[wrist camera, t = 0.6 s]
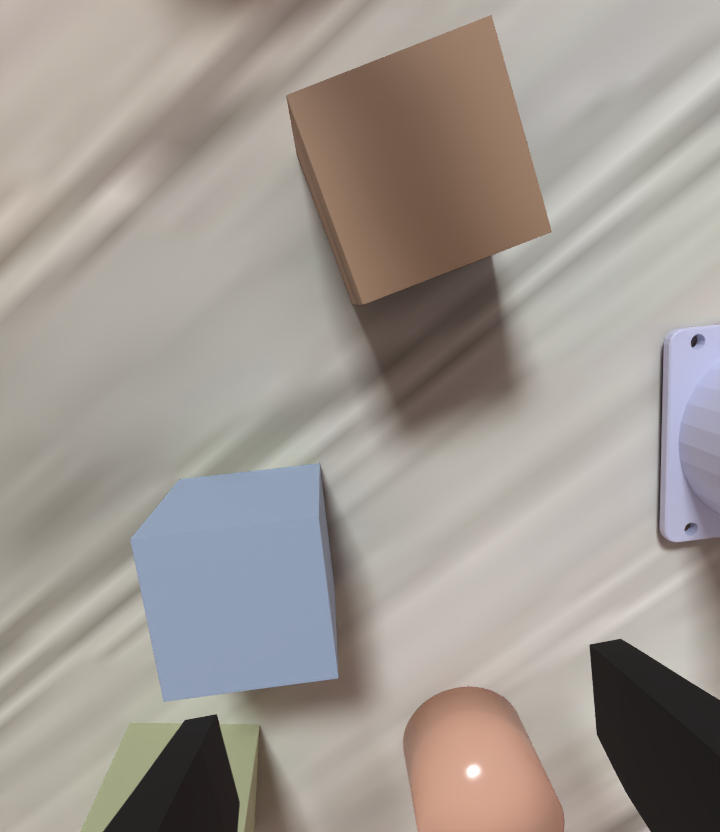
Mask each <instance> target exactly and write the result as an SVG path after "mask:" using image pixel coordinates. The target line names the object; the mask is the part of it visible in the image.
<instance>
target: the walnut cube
mask: <svg viewBox="0 0 720 832" xmlns="http://www.w3.org/2000/svg"><path fill="white" fill-rule="evenodd" d="M286 97H287V102H288V108H289V114H290V119H291V125H292V131H293V136H294V142H295V148H296V153H297V157H298V159H299V162H300V165H301V167H302V170H303V173H304V175H305V178H306V181H307V183H308V186H309V189H310V192H311V194H312V197H313V200H314V202H315V205H316V208H317V210H318V213H319V216H320V218H321V221H322V224H323V227H324V229H325V232H326V235H327V237H328V240H329V243H330V245H331V248H332V251H333V254H334V256H335V259H336V262H337V264H338V267H339V270H340V272H341V275H342V278H343V280H344V283H345V286H346V289H347V291H348V294H349V297H350V299H351V302H352V304H354V305H364V304H366V303H369V302H372V301H374V300H377V299H379V298H382V297H385V296H387V295H390V294H392V293H395V292H398V291H400V290H403V289H405V288H408V287H410V286H413V285H416V284H418V283H421V282H423V281H426V280H429V279H431V278H434V277H436V276H439V275H442V274H444V273H447V272H449V271H452V270H455V269H457V268H460V267H462V266H465V265H467V264H470V263H473V262H475V261H478V260H480V259H483V258H486V257H488V256H491V255H493V254H496V253H499V252H501V251H504V250H506V249H509V248H512V247H514V246H517V245H519V244H522V243H524V242H527V241H530V240H532V239H535V238H537V237H540V236H543V235H545V234H548V233H550V232H552V231H551V228H550V224H549V221H548V217H547V213H546V210H545V206H544V203H543V199H542V195H541V192H540V188H539V185H538V181H537V177H536V174H535V170H534V167H533V163H532V159H531V156H530V152H529V149H528V145H527V141H526V138H525V134H524V131H523V127H522V123H521V120H520V116H519V113H518V109H517V105H516V102H515V98H514V95H513V91H512V87H511V84H510V80H509V77H508V73H507V69H506V66H505V62H504V59H503V55H502V51H501V48H500V44H499V41H498V37H497V33H496V30H495V26H494V23H493V19H492V15H490V16H488V17H485V18H483V19H480V20H478V21H475V22H473V23H470V24H467V25H465V26H462V27H460V28H457V29H455V30H452V31H450V32H447V33H444V34H442V35H439V36H437V37H434V38H432V39H429V40H427V41H424V42H421V43H419V44H416V45H414V46H411V47H409V48H406V49H403V50H401V51H398V52H396V53H393V54H391V55H388V56H386V57H383V58H380V59H378V60H375V61H373V62H370V63H368V64H365V65H363V66H360V67H357V68H355V69H352V70H350V71H347V72H345V73H342V74H340V75H337V76H334V77H332V78H329V79H327V80H324V81H322V82H319V83H317V84H314V85H311V86H309V87H306V88H304V89H301V90H299V91H296V92H294V93H291V94H288V95H286Z"/></svg>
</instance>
